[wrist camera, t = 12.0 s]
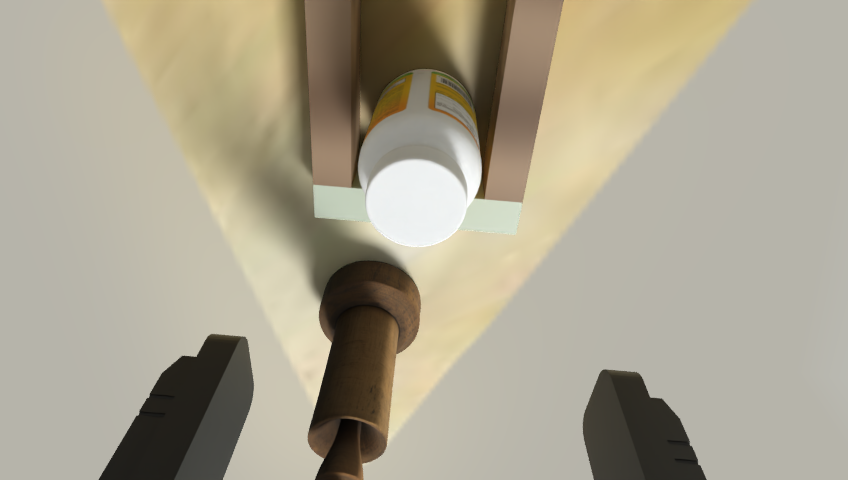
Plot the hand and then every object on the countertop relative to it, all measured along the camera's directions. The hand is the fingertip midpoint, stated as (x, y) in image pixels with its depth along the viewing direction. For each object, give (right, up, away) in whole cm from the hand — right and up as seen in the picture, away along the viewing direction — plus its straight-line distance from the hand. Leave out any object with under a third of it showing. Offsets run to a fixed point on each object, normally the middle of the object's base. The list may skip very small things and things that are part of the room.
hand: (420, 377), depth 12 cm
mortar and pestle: (-3, -1, +24) cm, 24 cm away
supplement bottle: (0, +10, +16) cm, 19 cm away
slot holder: (0, +11, +16) cm, 19 cm away
